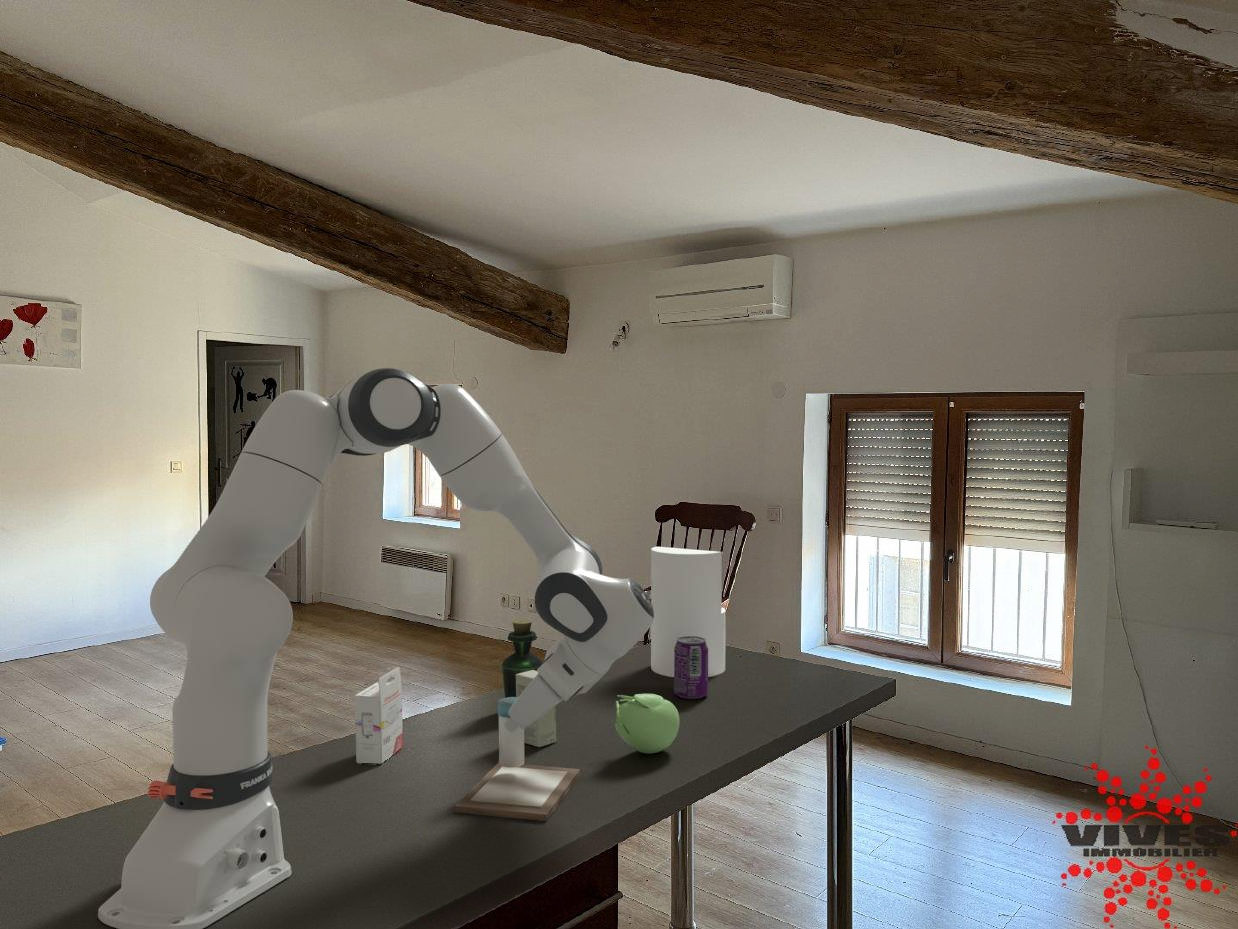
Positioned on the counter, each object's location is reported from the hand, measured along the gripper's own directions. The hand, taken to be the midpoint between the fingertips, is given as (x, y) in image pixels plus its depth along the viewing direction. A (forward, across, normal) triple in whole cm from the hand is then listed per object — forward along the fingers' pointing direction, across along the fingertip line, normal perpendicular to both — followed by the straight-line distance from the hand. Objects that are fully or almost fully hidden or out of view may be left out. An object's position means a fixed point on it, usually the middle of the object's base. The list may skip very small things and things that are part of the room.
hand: (514, 722), depth 147 cm
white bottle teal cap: (+5, 0, +4) cm, 7 cm away
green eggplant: (-5, -17, +19) cm, 26 cm away
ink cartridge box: (+26, -6, -12) cm, 29 cm away
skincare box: (+9, -19, +5) cm, 22 cm away
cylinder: (-4, -75, +19) cm, 77 cm away
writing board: (+5, +4, +8) cm, 11 cm away
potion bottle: (+14, -35, -1) cm, 38 cm away
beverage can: (-7, -53, +22) cm, 58 cm away
